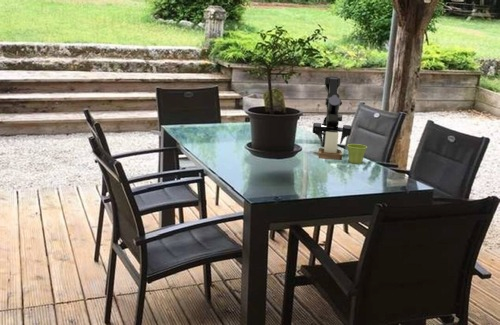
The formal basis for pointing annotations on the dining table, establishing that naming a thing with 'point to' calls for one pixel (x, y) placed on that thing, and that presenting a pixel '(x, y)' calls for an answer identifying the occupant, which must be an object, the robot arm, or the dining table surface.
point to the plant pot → (356, 153)
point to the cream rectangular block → (331, 142)
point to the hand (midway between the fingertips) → (331, 143)
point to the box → (330, 154)
